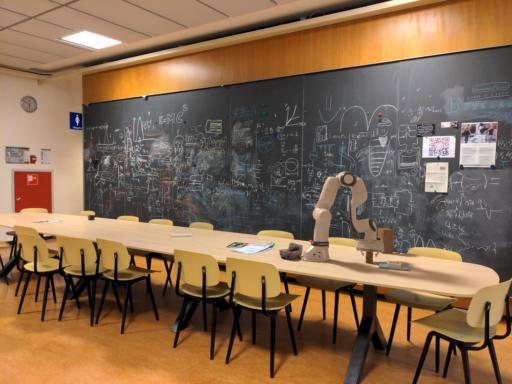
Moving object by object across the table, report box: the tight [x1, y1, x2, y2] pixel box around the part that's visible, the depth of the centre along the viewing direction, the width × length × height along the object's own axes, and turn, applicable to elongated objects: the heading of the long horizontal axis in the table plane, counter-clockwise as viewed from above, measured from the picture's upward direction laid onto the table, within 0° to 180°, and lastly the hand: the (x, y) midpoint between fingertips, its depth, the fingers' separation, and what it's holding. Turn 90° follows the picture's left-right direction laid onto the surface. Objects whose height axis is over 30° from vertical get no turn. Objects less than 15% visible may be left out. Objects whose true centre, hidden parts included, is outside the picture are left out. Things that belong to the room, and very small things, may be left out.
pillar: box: [365, 250, 374, 265], centre depth 280 cm, size 5×5×9 cm
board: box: [378, 260, 411, 272], centre depth 268 cm, size 20×16×3 cm
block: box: [377, 227, 395, 254], centre depth 321 cm, size 10×10×20 cm
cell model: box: [278, 241, 304, 260], centre depth 293 cm, size 13×11×20 cm
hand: (369, 255), depth 280 cm, fingers open, 8 cm apart
